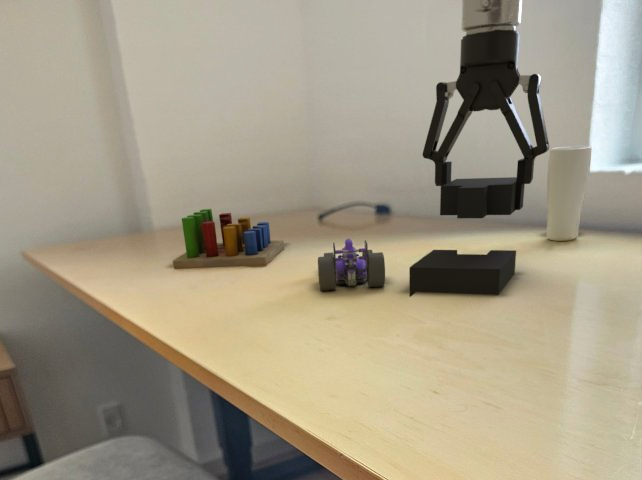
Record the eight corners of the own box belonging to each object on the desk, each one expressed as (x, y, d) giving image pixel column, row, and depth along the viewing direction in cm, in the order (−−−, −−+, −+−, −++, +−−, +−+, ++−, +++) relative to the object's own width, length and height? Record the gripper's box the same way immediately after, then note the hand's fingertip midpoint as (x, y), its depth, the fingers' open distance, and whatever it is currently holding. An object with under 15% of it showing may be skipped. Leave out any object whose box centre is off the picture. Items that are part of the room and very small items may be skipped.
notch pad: (409, 296, 90) (409, 267, 89) (433, 276, 100) (433, 249, 98) (498, 300, 85) (500, 269, 84) (514, 278, 95) (516, 250, 93)
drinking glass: (555, 234, 122) (563, 146, 116) (589, 237, 118) (600, 145, 111) (534, 240, 119) (541, 149, 112) (568, 243, 114) (578, 149, 107)
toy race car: (376, 267, 108) (375, 226, 105) (385, 289, 95) (384, 243, 92) (319, 272, 108) (316, 231, 106) (319, 294, 95) (316, 248, 92)
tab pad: (434, 218, 93) (435, 188, 92) (455, 206, 103) (456, 178, 101) (506, 218, 89) (508, 186, 87) (521, 205, 99) (523, 177, 97)
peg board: (266, 266, 116) (261, 215, 112) (173, 270, 119) (164, 221, 115) (284, 247, 131) (280, 202, 127) (201, 251, 134) (195, 207, 130)
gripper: (399, 40, 88) (400, 213, 99) (578, 18, 79) (558, 212, 89) (415, 42, 94) (414, 205, 105) (584, 23, 85) (565, 204, 95)
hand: (481, 208), depth 97 cm, fingers closed on tab pad, 10 cm apart
